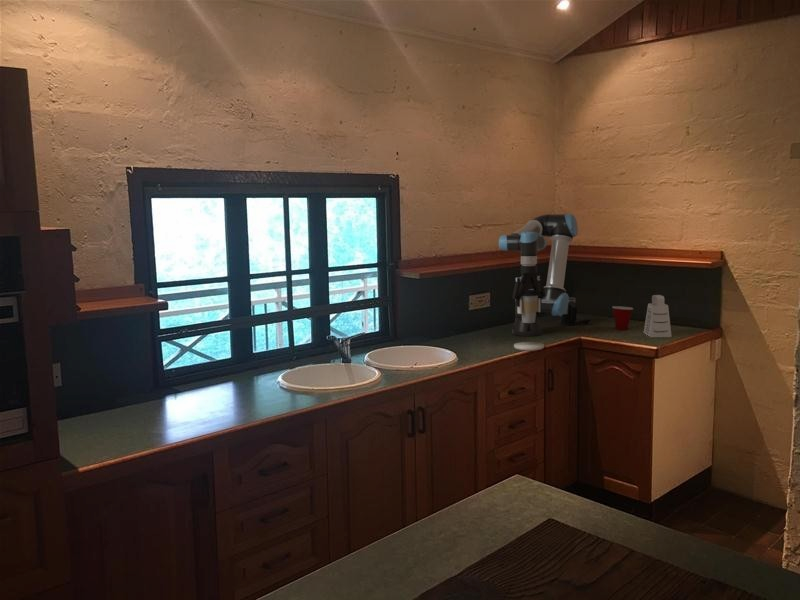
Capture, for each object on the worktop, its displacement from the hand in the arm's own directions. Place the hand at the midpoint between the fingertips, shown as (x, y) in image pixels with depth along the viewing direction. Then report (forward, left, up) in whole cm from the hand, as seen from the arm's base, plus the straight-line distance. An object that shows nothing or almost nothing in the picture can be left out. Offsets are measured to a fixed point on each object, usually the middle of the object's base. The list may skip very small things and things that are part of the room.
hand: (528, 312), depth 323 cm
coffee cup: (0, 0, -5) cm, 5 cm away
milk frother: (-10, +70, -17) cm, 72 cm away
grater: (+39, +61, -17) cm, 74 cm away
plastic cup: (+18, +68, -17) cm, 72 cm away
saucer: (0, 0, -17) cm, 17 cm away
